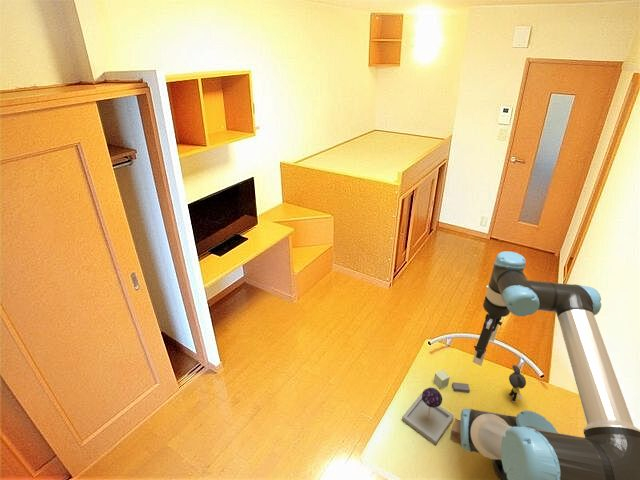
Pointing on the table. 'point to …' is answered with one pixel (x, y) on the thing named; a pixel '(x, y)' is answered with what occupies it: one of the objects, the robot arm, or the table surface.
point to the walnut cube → (456, 431)
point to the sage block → (441, 379)
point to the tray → (427, 420)
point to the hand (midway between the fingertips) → (483, 350)
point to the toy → (516, 383)
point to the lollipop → (431, 398)
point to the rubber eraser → (460, 387)
